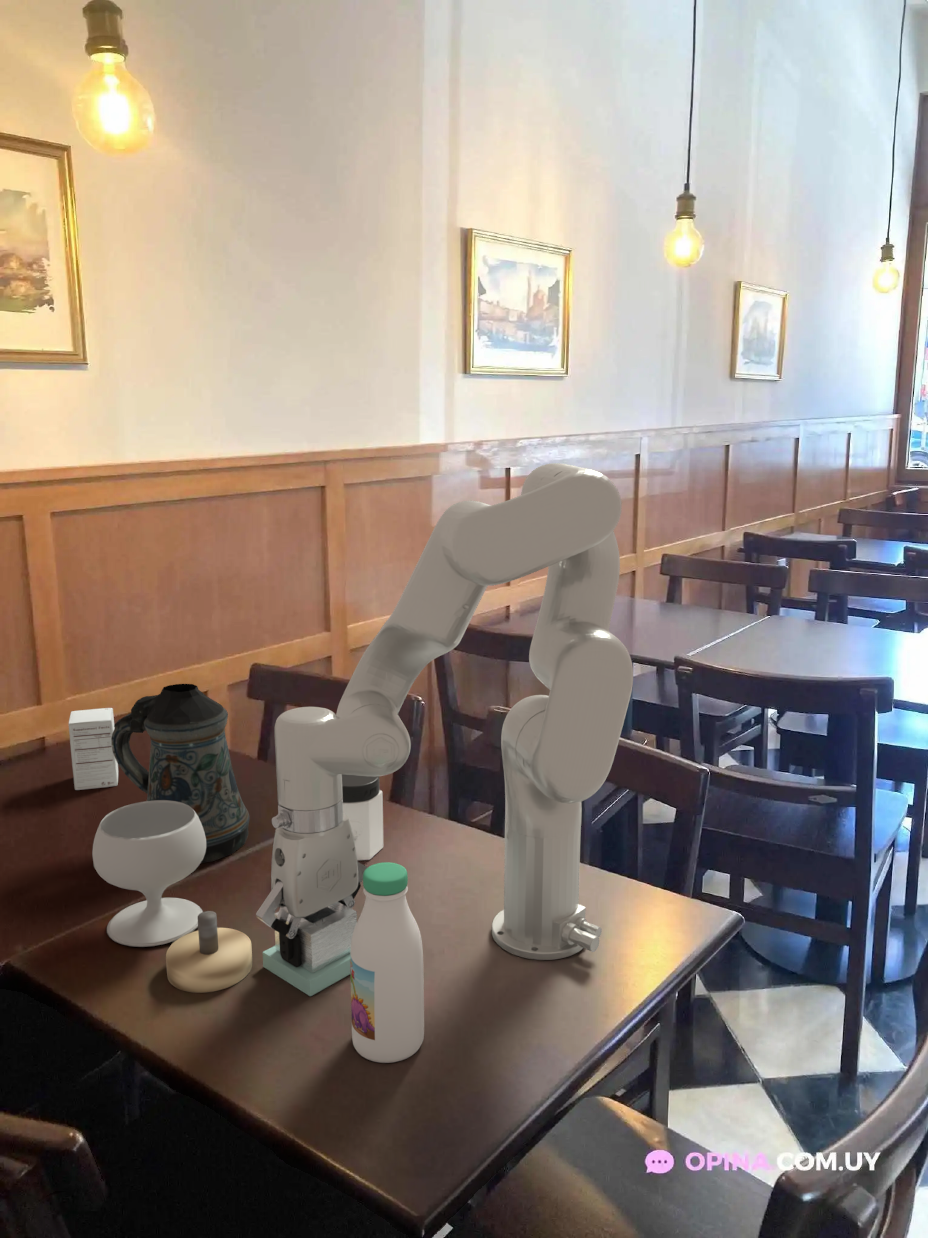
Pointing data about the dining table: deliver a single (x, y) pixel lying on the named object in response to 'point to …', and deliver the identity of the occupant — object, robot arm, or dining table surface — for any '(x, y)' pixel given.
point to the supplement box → (92, 748)
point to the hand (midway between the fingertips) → (316, 947)
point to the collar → (324, 936)
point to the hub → (209, 957)
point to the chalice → (150, 868)
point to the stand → (306, 972)
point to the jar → (364, 813)
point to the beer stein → (187, 762)
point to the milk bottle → (386, 970)
